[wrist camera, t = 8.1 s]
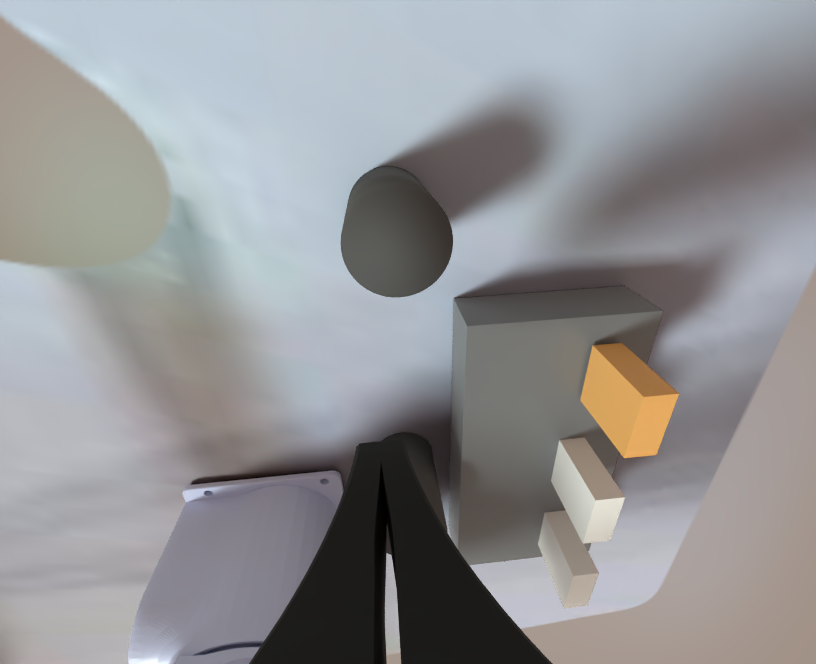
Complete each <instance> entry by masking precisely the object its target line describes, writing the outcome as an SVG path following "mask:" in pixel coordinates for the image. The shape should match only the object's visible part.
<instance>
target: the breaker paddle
mask: <svg viewBox="0 0 816 664" xmlns="http://www.w3.org/2000/svg"><path fill="white" fill-rule="evenodd" d="M678 396H679V393H678V392H677V391H676V390H675V389H673V388H672V387H671V386H670V385H669V384H668V383H667V382H665V381H664V380H663V379H662V378H661V377H660V376H659V375H658V374H656V373H655V372H654V371H653V370H652V369H651V368H650V367H649V366H647V365H646V364H645V363H644V362H643V361H642V360H641V359H639V358H638V357H637V356H636V355H635V354H634V353H633V352H632V351H630V350H629V349H628V348H627V347H626V346H625V345H624V344H622V343H614V344H602V345H592V350H591V354H590V359H589V363H588V368H587V372H586V377H585V381H584V386H583V390H582V395H581V399H580V401H581V402H582V403H583V405H584V406H585V407H586V409H587V410H588V411H589V413H590V414H591V415H592V417H593V418H594V419H595V420H596V422H597V423H598V424H599V426H600V427H601V428H602V430H603V431H604V432H605V434H606V435H607V436H608V438H609V439H610V440H611V442H612V443H613V444H614V446H615V447H616V448H617V450H618V451H619V452H620V454H621V455H622V456H623V457H624V458H632V457H641V456H651V455H657V452H658V449H659V447H660V444H661V441H662V439H663V436H664V433H665V431H666V428H667V425H668V423H669V420H670V417H671V415H672V412H673V409H674V407H675V404H676V401H677V399H678Z"/></svg>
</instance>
